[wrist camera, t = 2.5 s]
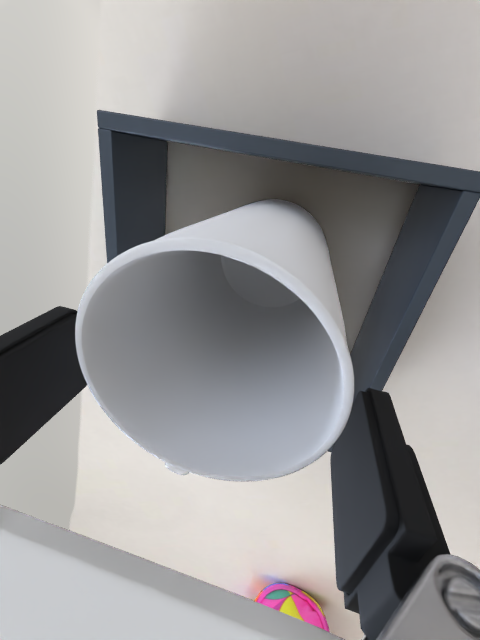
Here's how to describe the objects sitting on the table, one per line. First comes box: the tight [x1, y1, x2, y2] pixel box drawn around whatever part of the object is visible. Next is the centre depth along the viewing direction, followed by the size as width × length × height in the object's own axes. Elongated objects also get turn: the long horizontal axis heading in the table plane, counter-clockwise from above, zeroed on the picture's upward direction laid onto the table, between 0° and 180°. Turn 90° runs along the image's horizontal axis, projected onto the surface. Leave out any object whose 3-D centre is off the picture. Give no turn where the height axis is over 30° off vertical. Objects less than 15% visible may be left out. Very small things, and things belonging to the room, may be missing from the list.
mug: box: [75, 199, 354, 481], centre depth 13 cm, size 10×7×12 cm, turn 161°
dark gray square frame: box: [97, 110, 480, 452], centre depth 16 cm, size 14×14×5 cm
